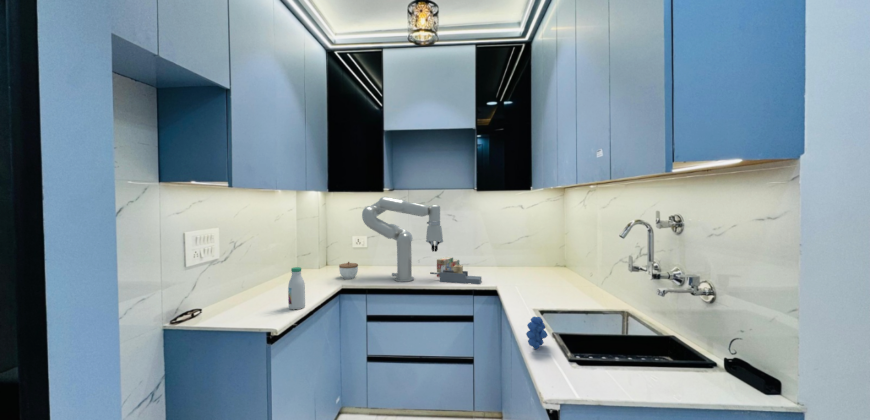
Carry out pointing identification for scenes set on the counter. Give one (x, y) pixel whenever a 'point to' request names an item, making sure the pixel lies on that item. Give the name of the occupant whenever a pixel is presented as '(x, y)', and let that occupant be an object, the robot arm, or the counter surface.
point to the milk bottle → (296, 290)
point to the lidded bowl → (348, 270)
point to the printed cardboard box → (446, 264)
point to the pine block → (458, 269)
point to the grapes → (536, 332)
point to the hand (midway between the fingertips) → (434, 251)
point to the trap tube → (459, 277)
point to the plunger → (441, 270)
